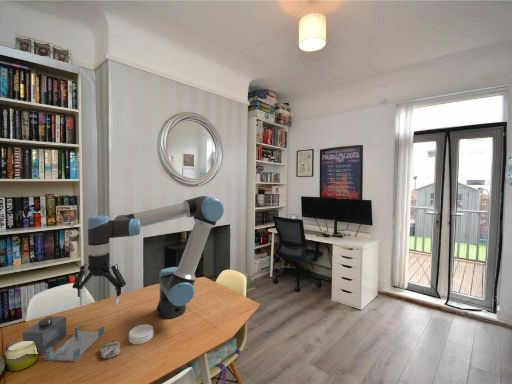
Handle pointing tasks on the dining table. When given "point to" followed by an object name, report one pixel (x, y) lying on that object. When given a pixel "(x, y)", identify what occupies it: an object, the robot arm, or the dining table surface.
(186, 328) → the dining table surface
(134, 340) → the coaster
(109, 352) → the stone
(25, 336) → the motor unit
